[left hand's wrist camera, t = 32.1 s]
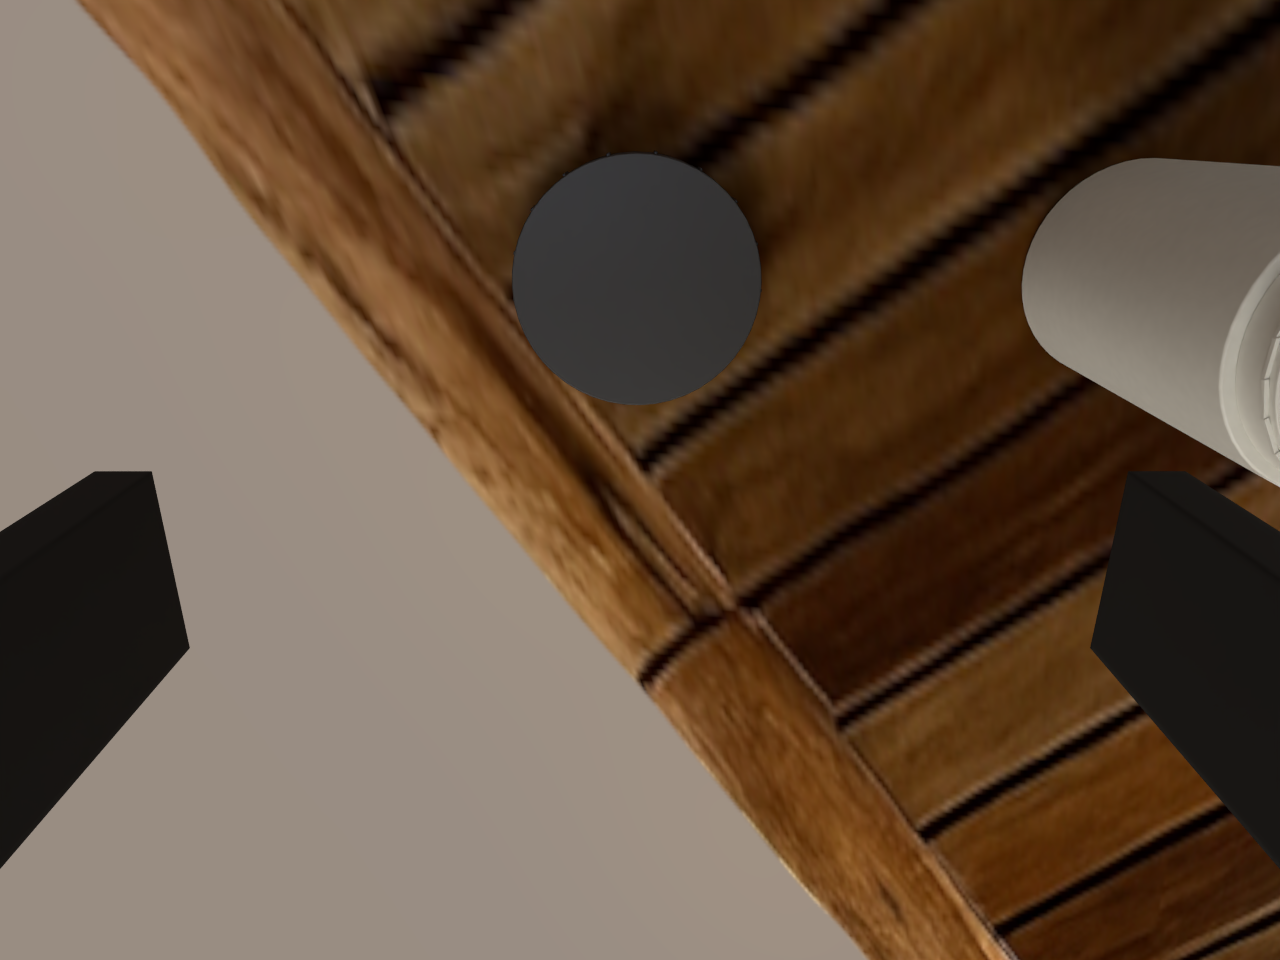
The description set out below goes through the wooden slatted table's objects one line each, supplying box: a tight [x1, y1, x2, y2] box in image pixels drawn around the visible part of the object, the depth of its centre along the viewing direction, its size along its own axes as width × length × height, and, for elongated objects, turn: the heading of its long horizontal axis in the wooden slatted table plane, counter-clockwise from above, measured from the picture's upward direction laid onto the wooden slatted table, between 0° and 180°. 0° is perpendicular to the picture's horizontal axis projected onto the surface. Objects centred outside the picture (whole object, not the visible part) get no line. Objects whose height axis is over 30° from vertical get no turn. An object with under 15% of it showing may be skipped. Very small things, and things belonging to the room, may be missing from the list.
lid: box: [512, 151, 761, 405], centre depth 35 cm, size 10×10×2 cm
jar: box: [1022, 158, 1280, 487], centre depth 29 cm, size 9×9×15 cm
